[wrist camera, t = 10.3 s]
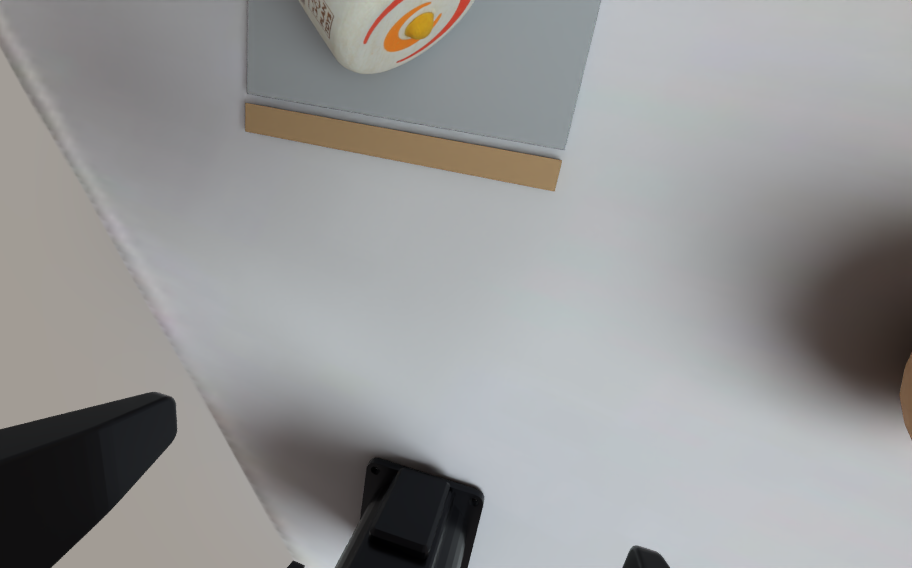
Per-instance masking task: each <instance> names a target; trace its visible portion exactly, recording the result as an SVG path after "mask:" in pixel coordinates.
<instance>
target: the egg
mask: <svg viewBox="0 0 912 568" xmlns="http://www.w3.org/2000/svg"><path fill="white" fill-rule="evenodd" d="M899 395H900V401H901V407H902V412H903V418H904V423H905V426H906V428H907V430H908V432H909V435H910V437H911V439H912V353H911V355H910V357H909V359H908V361H907V363H906V366H905V369H904V374H903V379H902V384H901V389H900V394H899Z"/></svg>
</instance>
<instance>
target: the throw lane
mask: <svg viewBox="0 0 912 568" xmlns="http://www.w3.org/2000/svg"><path fill="white" fill-rule="evenodd" d="M600 3H601V0H475V1H474V3H473V4H472V6H471V7H470V9H469V10H468V11H467V13H466V14H465V15H464V16H463V18H462V19H461V20H460V21H459V22H458V23H457V24H456V25H455V26H454V27H453V28H452V29H451V31H450V32H448V33H447V34H446V35H445V36H444V37H443V38H442V39H441V40H439V41H438V42H437V43H436V44H434V45H433V46H432V47H430V48H429V49H428V50H426V51H425V52H423V53H422V54H420V55H419V56H417V57H415V58H414V59H412V60H410V61H408V62H407V63H405V64H403V65H400V66H398V67H396V68H393V69H391V70H388V71H384V72H381V73H375V74H360V73H356V72H353V71H351V70H349V69H347V68H345V67H343V66H342V65H341V64H340V63H339V62H338V61H337V60H336V58H335V57H334V55H333V54H332V52H331V51H330V49H329V47H328V46H327V44H326V43H325V41H324V40H323V38H322V37H321V35H320V34H319V32H318V31H317V29H316V28H315V26H314V25H313V23H312V21H311V20H310V18H309V17H308V15H307V14H306V12H305V10H304V9H303V7H302V5H301V4H300V2H299V0H248V34H247V93H248V94H253V95H258V96H264V97H269V98H275V99H281V100H286V101H292V102H297V103H303V104H309V105H314V106H320V107H326V108H331V109H337V110H342V111H348V112H354V113H359V114H365V115H371V116H376V117H382V118H387V119H393V120H399V121H404V122H410V123H415V124H421V125H427V126H432V127H438V128H444V129H449V130H455V131H460V132H466V133H472V134H477V135H483V136H488V137H494V138H500V139H505V140H511V141H517V142H522V143H528V144H533V145H539V146H545V147H550V148H556V149H561V150H565V146H566V142H567V138H568V134H569V130H570V126H571V122H572V118H573V114H574V110H575V105H576V101H577V97H578V93H579V89H580V85H581V81H582V77H583V73H584V69H585V64H586V60H587V56H588V52H589V48H590V44H591V40H592V36H593V32H594V28H595V23H596V19H597V15H598V11H599V7H600ZM245 131H246V132H252V133H257V134H262V135H267V136H272V137H277V138H282V139H288V140H293V141H298V142H303V143H308V144H313V145H318V146H324V147H329V148H334V149H339V150H344V151H349V152H354V153H360V154H365V155H370V156H375V157H380V158H385V159H390V160H396V161H401V162H406V163H411V164H416V165H421V166H426V167H432V168H437V169H442V170H447V171H452V172H457V173H462V174H468V175H473V176H478V177H483V178H488V179H493V180H498V181H504V182H509V183H514V184H519V185H524V186H529V187H534V188H540V189H545V190H550V191H555V188H556V184H557V179H558V175H559V171H560V167H561V163H562V160H557V159H551V158H546V157H540V156H535V155H529V154H524V153H518V152H513V151H507V150H502V149H496V148H491V147H486V146H480V145H475V144H469V143H464V142H458V141H453V140H447V139H442V138H436V137H431V136H425V135H420V134H414V133H409V132H403V131H398V130H392V129H387V128H381V127H376V126H370V125H365V124H359V123H354V122H348V121H343V120H337V119H332V118H326V117H321V116H315V115H310V114H304V113H299V112H293V111H288V110H282V109H277V108H271V107H266V106H260V105H255V104H249V103H245Z"/></svg>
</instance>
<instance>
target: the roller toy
mask: <svg viewBox="0 0 912 568" xmlns="http://www.w3.org/2000/svg"><path fill="white" fill-rule="evenodd" d="M474 1H475V0H299V2H300V4H301V5H302V7H303V9H304V10H305V12H306V14H307V15H308V17H309V18H310V20H311V21H312V23H313V25H314V26H315V28H316V29H317V31H318V32H319V34H320V35H321V37H322V38H323V40H324V41H325V43H326V44H327V46H328V47H329V49H330V51H331V52H332V54H333V55H334V57H335V58H336V60H337V61H338V62H339V63H340V64H341V65H342V66H343V67H345V68H347V69H349V70H351V71H353V72H356V73H360V74H375V73H381V72H384V71H388V70H391V69H393V68H396V67H398V66H400V65H403V64H405V63H407V62H408V61H410V60H412V59H414V58H415V57H417V56H419V55H420V54H422V53H423V52H425V51H426V50H428V49H429V48H430V47H432V46H433V45H434V44H436V43H437V42H438V41H439V40H441V39H442V38H443V37H444V36H445V35H446V34H447V33H448V32H450V31H451V29H452V28H453V27H454V26H455V25H456V24H457V23H458V22H459V21H460V20H461V19H462V18H463V16H464V15H465V14H466V13H467V11H468V10H469V9H470V7H471V6H472V4H473V3H474Z"/></svg>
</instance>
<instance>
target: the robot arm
mask: <svg viewBox="0 0 912 568" xmlns="http://www.w3.org/2000/svg"><path fill="white" fill-rule="evenodd" d="M176 433H177V417H176V403H175V400H174V399H173V398H172V397H170V396H167V395H164V394H161V393H157V392H150V393H145V394H141V395H137V396H134V397H129V398H125V399H121V400H117V401H113V402H109V403H105V404H101V405H97V406H93V407H89V408H85V409H81V410H77V411H73V412H69V413H65V414H61V415H57V416H53V417H48V418H45V419H40V420H37V421H33V422H29V423H24V424H20V425H16V426H12V427H8V428H4V429H0V568H51V567H52V566H53V565H54V564H55V563H56V562H58V561H59V560H60V559H61V557H63V555H65V554H66V553H67V552H68V551H69V550H70V549H71V548H72V547H73V546H74V545H75V544H76V543H77V542H79V540H81V539H82V538H83V537H84V536H85V535H86V534H87V533H88V532H89V531H90V530H91V529H92V528H93V527H94V526H95V525H96V524H97V523H98V522H99V521H100V520H101V519H102V518H103V517H104V516H105V515H106V514H107V513H108V512H109V511H110V510H111V509H112V508H113V507H114V506H115V505H116V504H117V503H118V502H119V501H120V500H121V499H122V498H123V496H124V495H125V494H126V493H127V492H128V491H129V490H130V489H131V487H132V486H133V485H134V484H135V483H136V482H137V481H138V480H139V478H140V477H141V476H142V475H143V474H144V473H145V471H147V470H148V468H149V467H150V466H151V465H152V464H153V463H154V462H155V461H156V459H158V457H159V456H160V455H161V454H162V453H163V452H164V451H165V450H166V449H167V447H168V446H169V445H170V444H171V443H172V441H173V440H174V438H175V436H176ZM375 467H377V468H378V469H376V468H375ZM472 498H474V499H476V500H477V501H476V500H473V499H472ZM483 503H484V495H483V493H482V492H481V491H479V490H477V489H474V488H471V487H468V486H465V485H462V484H459V483H455V482H452V481H449V480H446V479H443V478H440V477H437V476H433V475H430V474H427V473H424V472H421V471H418V470H414V469H411V468H408V467H405V466H402V465H399V464H395V463H392V462H389V461H386V460H383V459H380V458H373V459H372V460H371V461H370V462H369V464H368V466H367V470H366V478H365V486H364V493H363V501H362V509H361V517H360V522H359V524H358V525H357V527H356V529H355V531H354V533H353V535H352V537H351V538H350V540H349V542H348V544H347V546H346V548H345V550H344V551H343V553H342V555H341V557H340V559H339V561H338V563H337V564H336V566H335V568H468V564H469V560H470V556H471V552H472V548H473V544H474V540H475V536H476V532H477V528H478V524H479V520H480V516H481V512H482V508H483ZM304 567H305V565H302V564H300V563H298V562H295V561H292V563H291V564H290V565H289V566H288V567H287V568H304ZM623 568H670V567H669V565H668V564H667V562H666V561H665V560H664V558H663V557H662V556H661V555H660V554H659V553H658V552H656V551H653V550H650V549H647V548H644V547H641V546H633V547H632V548H631V549H630V551H629V553H628V556H627V558H626V560H625V563H624V565H623Z"/></svg>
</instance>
